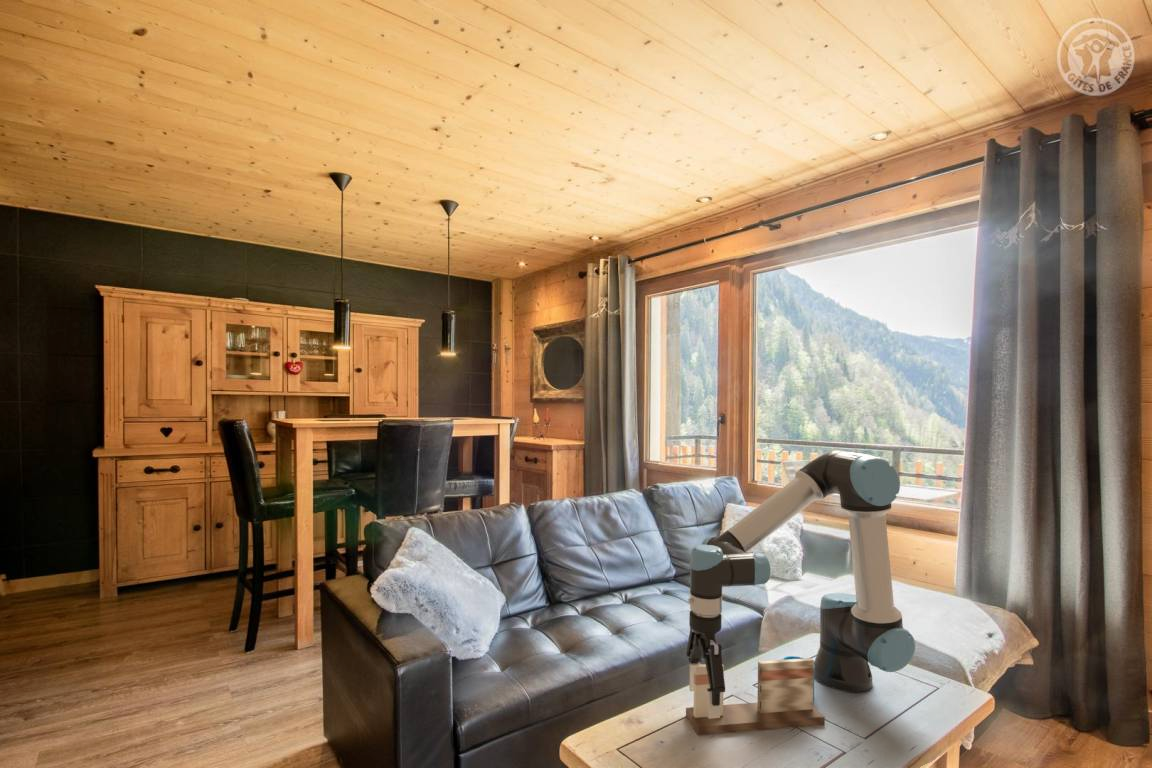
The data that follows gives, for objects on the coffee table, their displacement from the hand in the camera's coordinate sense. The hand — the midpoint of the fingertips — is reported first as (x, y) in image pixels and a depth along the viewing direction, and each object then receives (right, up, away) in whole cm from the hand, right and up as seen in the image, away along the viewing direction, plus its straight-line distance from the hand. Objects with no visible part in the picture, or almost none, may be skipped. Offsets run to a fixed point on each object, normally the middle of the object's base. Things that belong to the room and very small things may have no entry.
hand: (704, 703), depth 138 cm
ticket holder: (+13, -5, +2) cm, 14 cm away
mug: (+28, -6, +17) cm, 33 cm away
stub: (+1, -3, 0) cm, 3 cm away
